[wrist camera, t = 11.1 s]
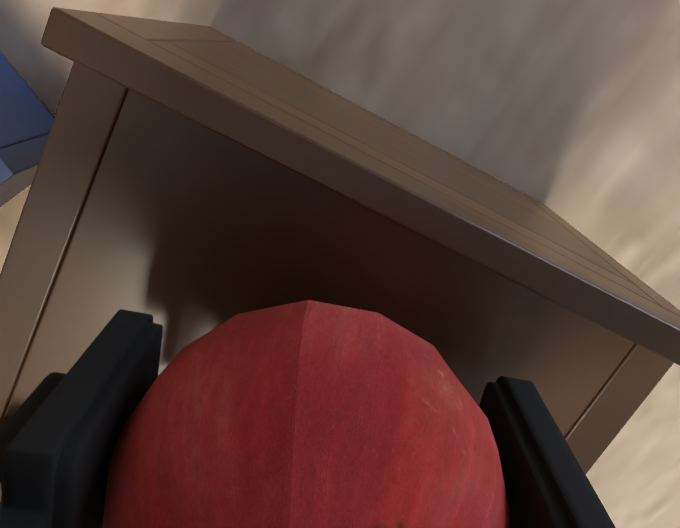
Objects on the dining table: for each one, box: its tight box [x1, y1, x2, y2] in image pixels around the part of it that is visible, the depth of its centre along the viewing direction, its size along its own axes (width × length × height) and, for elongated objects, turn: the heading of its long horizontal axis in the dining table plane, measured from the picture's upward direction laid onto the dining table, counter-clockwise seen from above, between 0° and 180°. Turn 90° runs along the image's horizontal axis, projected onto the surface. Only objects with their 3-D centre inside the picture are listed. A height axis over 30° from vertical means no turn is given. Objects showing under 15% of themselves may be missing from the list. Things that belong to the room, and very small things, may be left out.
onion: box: [102, 300, 510, 528], centre depth 9 cm, size 6×6×8 cm
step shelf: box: [0, 7, 680, 474], centre depth 18 cm, size 15×13×12 cm
